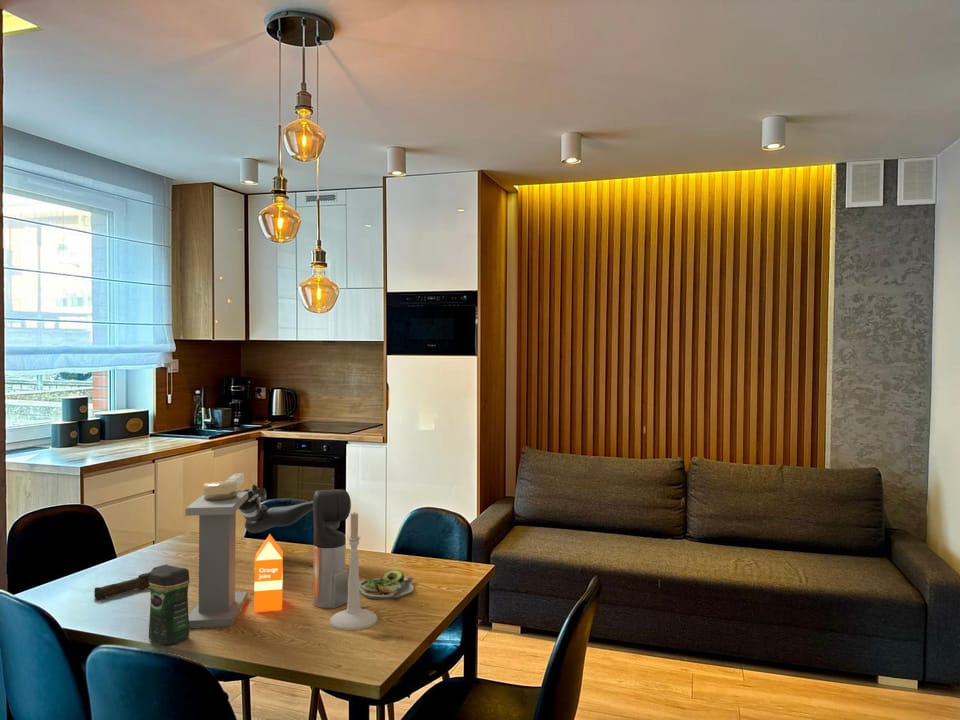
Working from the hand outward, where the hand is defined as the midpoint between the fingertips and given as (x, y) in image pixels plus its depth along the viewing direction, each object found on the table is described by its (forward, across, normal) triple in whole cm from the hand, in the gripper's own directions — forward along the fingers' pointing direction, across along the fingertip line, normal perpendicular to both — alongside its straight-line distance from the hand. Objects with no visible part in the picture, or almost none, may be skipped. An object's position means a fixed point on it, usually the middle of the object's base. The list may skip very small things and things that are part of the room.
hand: (239, 487), depth 226 cm
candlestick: (+22, -39, -47) cm, 65 cm away
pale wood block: (+18, -1, -8) cm, 19 cm away
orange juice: (+9, -14, -40) cm, 43 cm away
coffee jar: (+28, +7, -51) cm, 58 cm away
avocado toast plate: (0, -48, -35) cm, 59 cm away
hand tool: (-6, +31, -31) cm, 44 cm away
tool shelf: (+13, -1, -42) cm, 43 cm away
